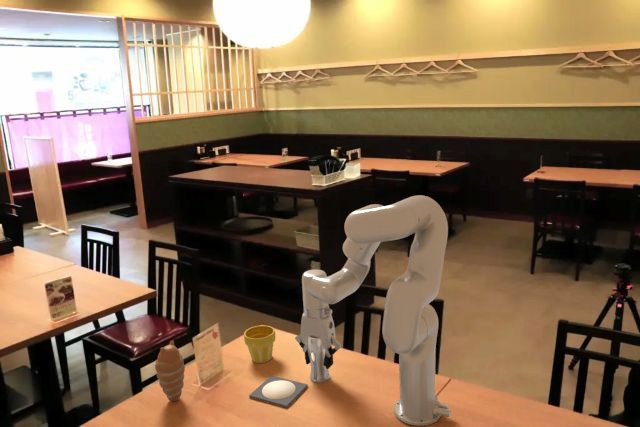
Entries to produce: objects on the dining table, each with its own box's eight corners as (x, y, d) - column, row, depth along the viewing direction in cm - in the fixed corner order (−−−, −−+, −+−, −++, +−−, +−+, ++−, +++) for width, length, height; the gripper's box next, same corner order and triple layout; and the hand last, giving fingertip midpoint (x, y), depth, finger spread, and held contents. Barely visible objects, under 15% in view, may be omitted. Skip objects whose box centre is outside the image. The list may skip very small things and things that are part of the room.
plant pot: (246, 352, 183) (244, 326, 180) (276, 349, 184) (274, 323, 181) (245, 367, 173) (243, 340, 170) (277, 364, 174) (275, 337, 171)
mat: (307, 386, 160) (307, 384, 159) (286, 408, 149) (286, 405, 149) (271, 377, 166) (271, 375, 165) (249, 397, 155) (249, 394, 155)
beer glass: (322, 386, 159) (320, 340, 156) (304, 379, 164) (301, 335, 160) (335, 375, 165) (333, 331, 161) (317, 369, 169) (315, 326, 165)
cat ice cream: (174, 389, 162) (167, 335, 158) (194, 394, 158) (188, 339, 154) (153, 405, 154) (146, 348, 150) (174, 411, 151) (167, 353, 147)
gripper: (347, 310, 158) (349, 364, 162) (297, 301, 166) (301, 353, 170) (336, 320, 152) (338, 376, 156) (285, 311, 160) (289, 364, 164)
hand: (319, 364), depth 163 cm, fingers closed on beer glass, 6 cm apart
